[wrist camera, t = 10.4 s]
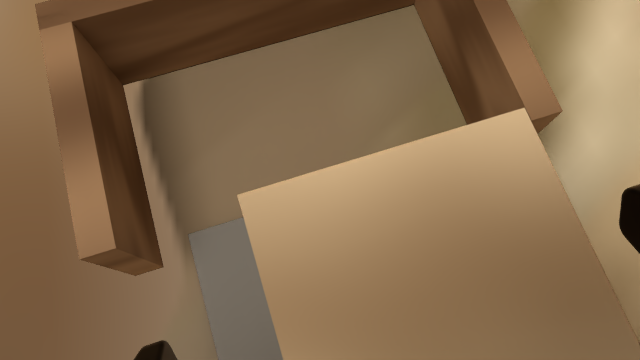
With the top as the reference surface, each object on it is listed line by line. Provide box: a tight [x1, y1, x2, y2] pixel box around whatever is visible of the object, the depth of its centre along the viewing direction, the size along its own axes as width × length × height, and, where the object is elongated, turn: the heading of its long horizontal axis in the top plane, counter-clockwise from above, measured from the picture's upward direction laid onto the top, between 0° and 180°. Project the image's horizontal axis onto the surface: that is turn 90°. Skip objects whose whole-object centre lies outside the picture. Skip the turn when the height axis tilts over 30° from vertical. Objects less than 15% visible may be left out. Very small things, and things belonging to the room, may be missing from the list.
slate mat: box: [188, 217, 283, 360], centre depth 20 cm, size 11×12×1 cm
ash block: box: [237, 108, 640, 360], centre depth 13 cm, size 5×5×13 cm
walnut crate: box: [35, 0, 562, 276], centre depth 20 cm, size 10×17×5 cm, turn 108°
